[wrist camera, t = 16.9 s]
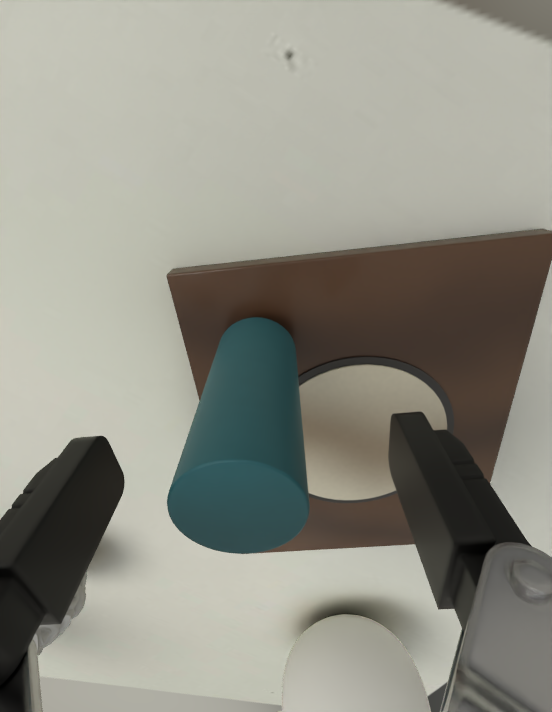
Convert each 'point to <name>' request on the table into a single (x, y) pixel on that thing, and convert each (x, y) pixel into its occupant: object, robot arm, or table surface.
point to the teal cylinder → (245, 447)
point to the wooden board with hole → (380, 357)
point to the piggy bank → (351, 670)
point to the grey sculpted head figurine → (51, 632)
